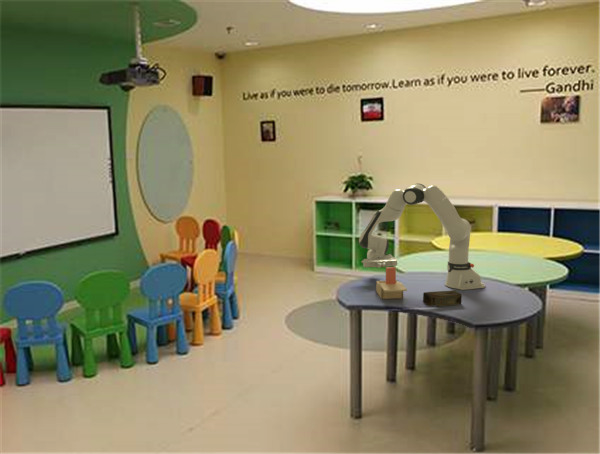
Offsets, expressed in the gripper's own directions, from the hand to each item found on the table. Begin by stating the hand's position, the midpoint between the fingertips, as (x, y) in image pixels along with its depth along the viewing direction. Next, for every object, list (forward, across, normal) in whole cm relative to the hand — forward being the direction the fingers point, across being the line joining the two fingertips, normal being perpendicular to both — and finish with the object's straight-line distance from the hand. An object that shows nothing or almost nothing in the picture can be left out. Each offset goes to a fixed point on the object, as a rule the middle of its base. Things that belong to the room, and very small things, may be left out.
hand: (382, 265), depth 327 cm
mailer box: (+19, 0, +12) cm, 22 cm away
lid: (+26, 0, +5) cm, 27 cm away
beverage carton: (+35, +24, +13) cm, 45 cm away
